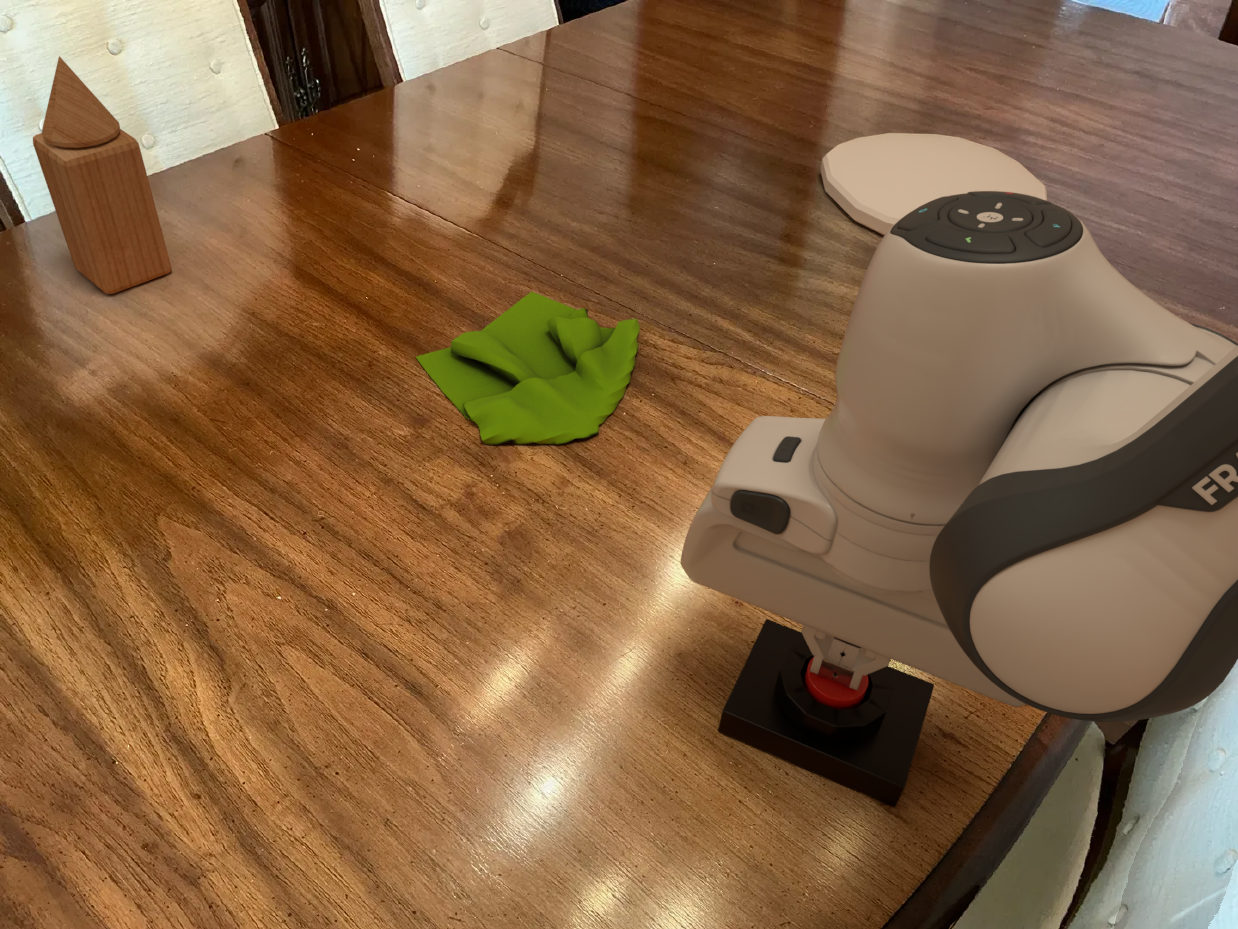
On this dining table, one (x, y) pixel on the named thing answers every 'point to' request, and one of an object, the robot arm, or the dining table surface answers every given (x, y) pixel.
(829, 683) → the button
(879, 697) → the button block
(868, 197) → the decorative plate
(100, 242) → the decorative item
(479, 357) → the cloth
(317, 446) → the dining table surface
